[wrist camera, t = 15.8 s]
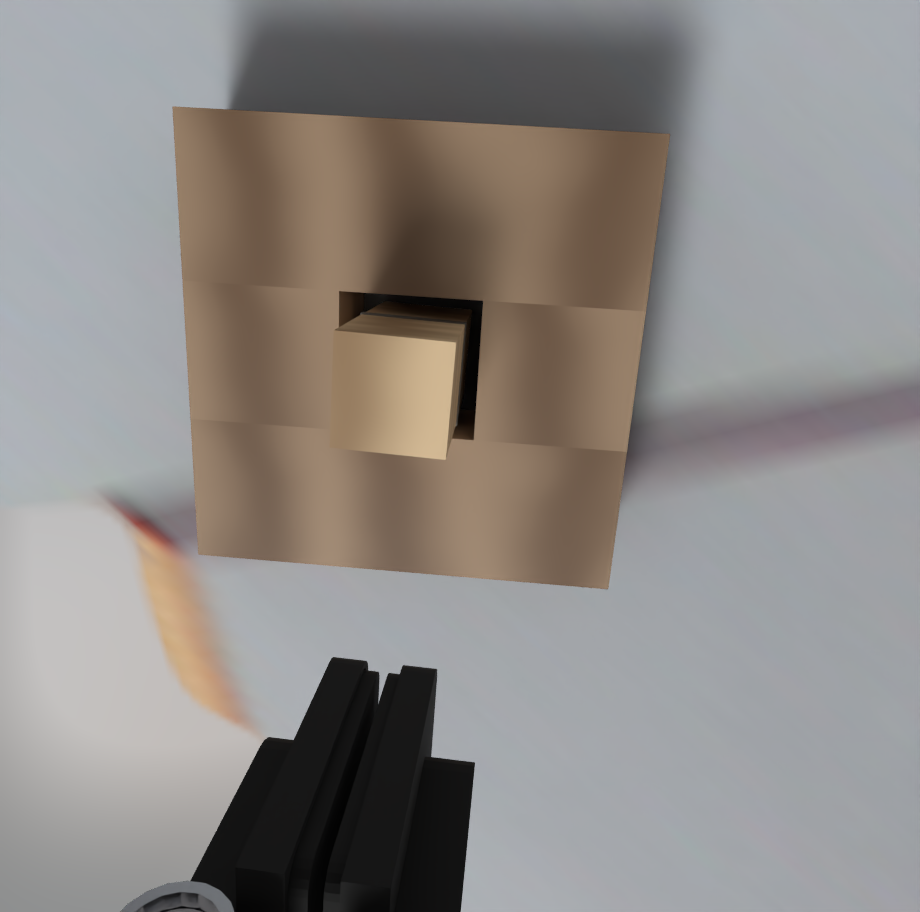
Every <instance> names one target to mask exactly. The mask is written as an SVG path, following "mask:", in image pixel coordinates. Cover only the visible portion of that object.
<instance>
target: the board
mask: <svg viewBox="0 0 920 912" xmlns="http://www.w3.org/2000/svg"><path fill="white" fill-rule="evenodd" d="M173 123H174V140H175V158H176V175H177V192H178V210H179V227H180V244H181V262H182V279H183V296H184V314H185V331H186V348H187V366H188V383H189V400H190V418H191V435H192V452H193V470H194V487H195V504H196V522H197V539H198V554H199V555H210V556H222V557H234V558H246V559H258V560H270V561H281V562H293V563H305V564H317V565H329V566H340V567H352V568H364V569H376V570H388V571H399V572H411V573H423V574H435V575H447V576H458V577H470V578H482V579H494V580H506V581H517V582H529V583H541V584H553V585H565V586H577V587H588V588H600V589H608V587H609V579H610V572H611V565H612V557H613V550H614V543H615V535H616V528H617V521H618V513H619V506H620V499H621V491H622V484H623V477H624V469H625V462H626V455H627V447H628V440H629V433H630V425H631V418H632V411H633V403H634V396H635V389H636V381H637V374H638V367H639V359H640V352H641V345H642V337H643V330H644V322H645V315H646V308H647V300H648V293H649V286H650V278H651V271H652V264H653V256H654V249H655V242H656V234H657V227H658V220H659V212H660V205H661V198H662V190H663V183H664V176H665V168H666V161H667V154H668V146H669V139H670V134H661V133H643V132H625V131H607V130H589V129H571V128H553V127H534V126H516V125H498V124H480V123H462V122H444V121H426V120H407V119H389V118H371V117H353V116H335V115H317V114H299V113H280V112H262V111H244V110H226V109H208V108H190V107H173ZM364 293H376V294H391V295H406V296H421V297H436V298H451V299H466V300H481V301H483V311H482V326H481V341H480V355H479V370H478V385H477V400H476V411H475V410H462V409H460V412H459V415H458V424H457V426H455V429H454V433H453V436H452V440H451V443H450V447H449V451H448V454H447V458H446V460H441V459H431V458H422V457H413V456H403V455H394V454H385V453H375V452H366V451H357V450H347V449H338V448H329V447H330V419H331V391H332V363H333V335H334V330H335V329H337V328H339V327H340V326H342V325H344V324H346V323H347V322H349V321H351V320H353V319H354V318H356V317H358V316H360V313H361V312H364Z"/></svg>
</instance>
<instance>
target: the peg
mask: <svg viewBox="0 0 920 912" xmlns="http://www.w3.org/2000/svg"><path fill="white" fill-rule="evenodd" d="M471 316H472V310H471V309H460V308H450V307H440V306H430V305H420V304H410V303H400V302H390V301H384V302H383V303H381V304H379V305H377V306H376V307H374V308H372V309H370V310H368V311H367V312H361V313H360V316H358V317H356V318H354V319H353V320H351V321H349V322H347V323H346V324H344V325H342V326H340V327H339V328H337V329H335V330H334V335H333V363H332V391H331V419H330V447H329V448H338V449H347V450H357V451H366V452H375V453H385V454H394V455H403V456H413V457H422V458H431V459H441V460H446V458H447V454H448V451H449V447H450V443H451V440H452V436H453V433H454V429H455V426H457V424H458V415H459V412H460V408H461V404H462V401H463V397H464V391H465V380H466V370H467V359H468V348H469V338H470V327H471Z"/></svg>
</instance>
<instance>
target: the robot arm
mask: <svg viewBox="0 0 920 912" xmlns="http://www.w3.org/2000/svg"><path fill="white" fill-rule="evenodd" d="M436 683H437V669H431V668H422V667H414V666H405V665H403V667H402V669H401V673H400V674H392V673H389V674H388V676H387V679H386V682H385V685H384V688H383V691H382V695H381V698H380V701H379V704H378V696H379V672H375V671H368V663H367V661H362V660H353V659H344V658H336V657H333V658H332V659H331V661H330V662H329V664H328V667H327V669H326V671H325V673H324V675H323V678H322V680H321V682H320V684H319V686H318V688H317V691H316V693H315V695H314V697H313V699H312V701H311V704H310V706H309V708H308V710H307V712H306V715H305V717H304V719H303V721H302V723H301V725H300V728H299V730H298V732H297V734H296V736H295V738H294V740H288V739H280V738H271V737H268V738H267V739H265V740H264V742H263V743H262V745H261V746H260V748H259V750H258V752H257V754H256V756H255V758H254V760H253V762H252V764H251V765H250V768H249V769H248V771H247V773H246V775H245V777H244V779H243V781H242V783H241V785H240V786H239V789H238V790H237V792H236V794H235V796H234V798H233V800H232V802H231V804H230V806H229V808H228V810H227V812H226V813H225V815H224V817H223V819H222V821H221V823H220V825H219V827H218V829H217V831H216V833H215V835H214V837H213V838H212V841H211V842H210V844H209V846H208V848H207V850H206V852H205V854H204V856H203V858H202V860H201V862H200V864H199V865H198V867H197V870H196V871H195V873H194V875H193V877H192V879H191V881H183V882H175V883H167V884H165V885H162V886H159V887H157V888H154V889H151V890H149V891H147V892H145V893H144V894H142V895H140V896H139V897H138V898H136V899H134V900H133V901H131V902H130V903H128V904H127V905H126V906H125V907H124V908H123V909H122V910H121V911H120V912H461V902H462V891H463V881H464V871H465V860H466V850H467V840H468V829H469V819H470V808H471V798H472V788H473V777H474V767H475V763H474V762H466V761H458V760H450V759H442V758H434V757H431V751H432V737H433V724H434V710H435V697H436Z"/></svg>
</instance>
